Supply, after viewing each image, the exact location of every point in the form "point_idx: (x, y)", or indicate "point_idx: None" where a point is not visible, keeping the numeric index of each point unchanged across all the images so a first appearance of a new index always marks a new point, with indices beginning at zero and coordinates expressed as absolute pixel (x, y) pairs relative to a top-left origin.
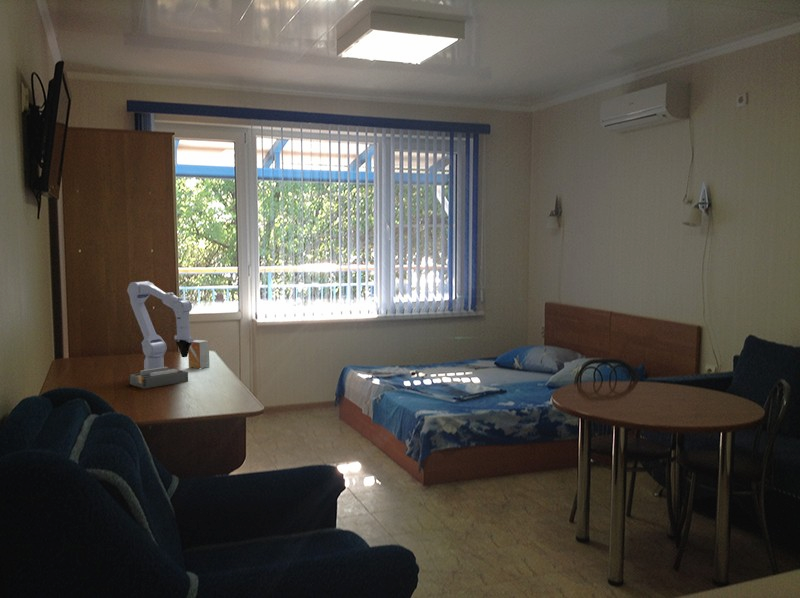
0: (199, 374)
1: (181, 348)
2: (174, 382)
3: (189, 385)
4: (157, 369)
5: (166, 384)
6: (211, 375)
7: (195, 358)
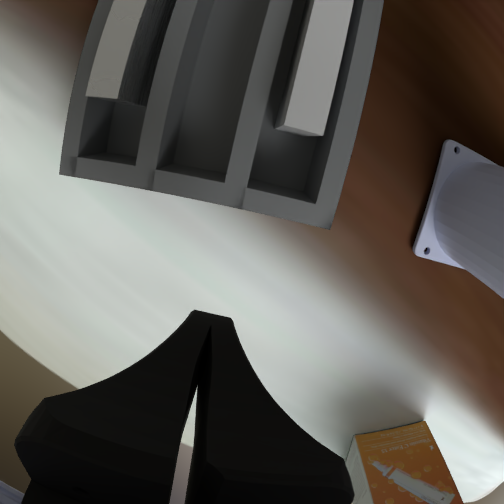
0: None
1: (147, 372)
2: None
3: (6, 98)
4: (309, 18)
5: None
6: None
7: (396, 466)
